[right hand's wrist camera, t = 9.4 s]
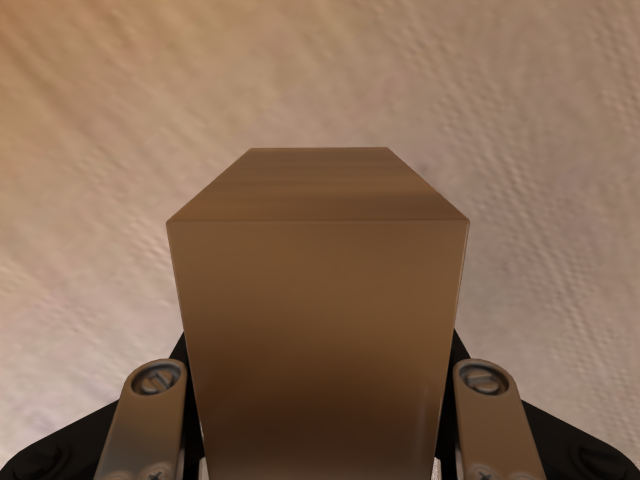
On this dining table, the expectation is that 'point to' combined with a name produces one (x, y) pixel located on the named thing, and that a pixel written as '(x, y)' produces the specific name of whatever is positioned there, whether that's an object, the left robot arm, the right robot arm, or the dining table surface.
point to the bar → (318, 314)
